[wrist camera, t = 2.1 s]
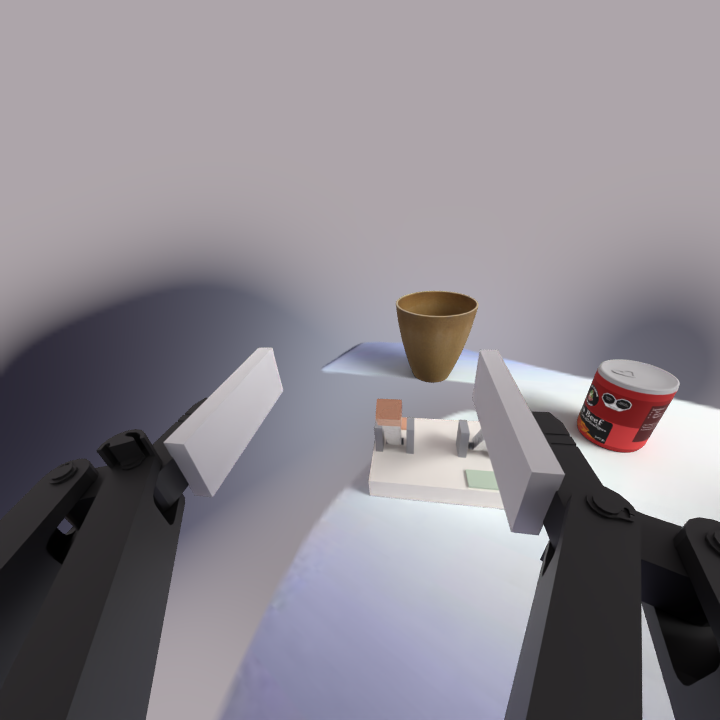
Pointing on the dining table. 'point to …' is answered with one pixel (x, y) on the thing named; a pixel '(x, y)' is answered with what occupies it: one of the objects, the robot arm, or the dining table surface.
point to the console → (434, 465)
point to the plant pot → (434, 330)
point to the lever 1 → (390, 420)
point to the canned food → (625, 404)
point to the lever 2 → (478, 442)
